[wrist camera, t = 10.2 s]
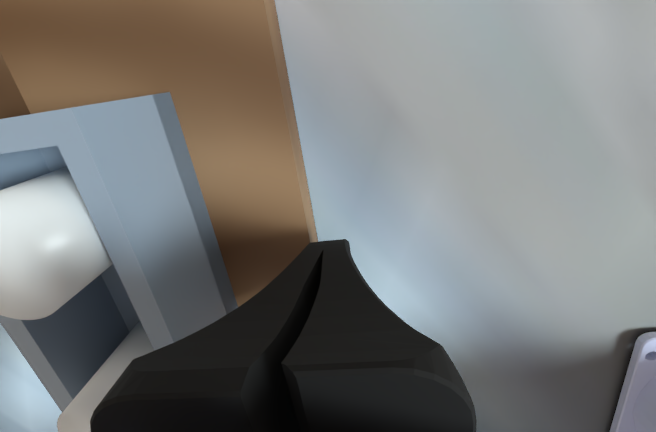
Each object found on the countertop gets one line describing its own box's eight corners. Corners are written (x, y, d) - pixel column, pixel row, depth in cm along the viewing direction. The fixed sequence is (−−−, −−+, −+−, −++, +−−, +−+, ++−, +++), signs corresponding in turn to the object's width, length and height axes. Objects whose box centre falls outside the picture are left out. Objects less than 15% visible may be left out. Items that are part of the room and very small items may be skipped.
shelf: (348, 413, 18) (346, 499, 15) (178, 417, 20) (137, 497, 16) (254, -111, 10) (190, -216, 6) (-44, -39, 11) (-245, -90, 7)
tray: (258, 369, 15) (216, 498, 11) (157, 373, 16) (77, 496, 11) (169, 91, 11) (28, 113, 6) (30, 114, 11) (-191, 149, 7)
